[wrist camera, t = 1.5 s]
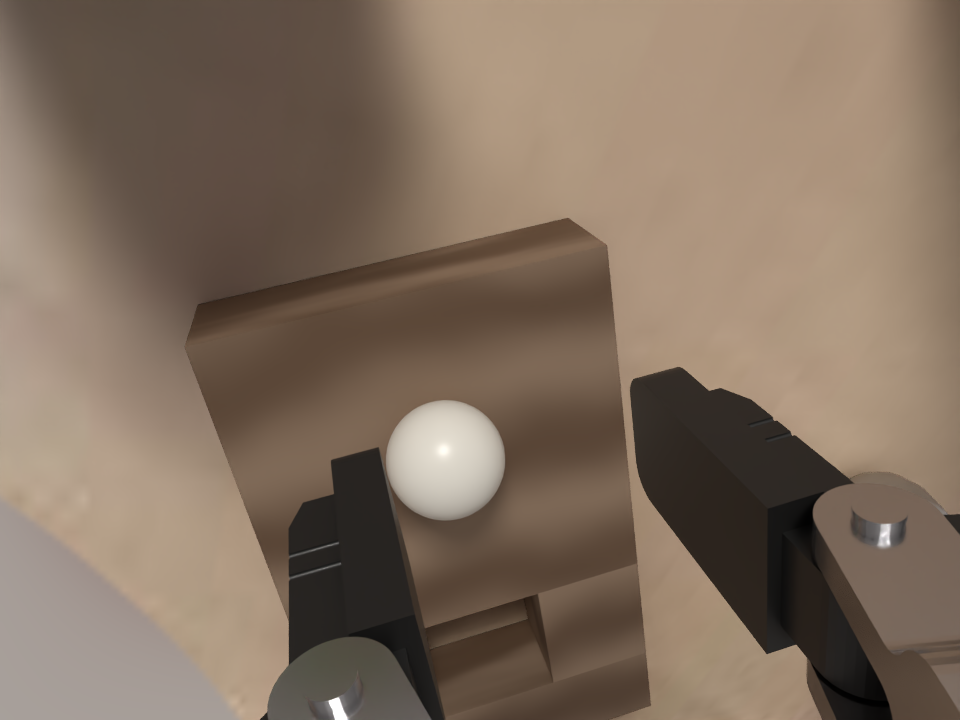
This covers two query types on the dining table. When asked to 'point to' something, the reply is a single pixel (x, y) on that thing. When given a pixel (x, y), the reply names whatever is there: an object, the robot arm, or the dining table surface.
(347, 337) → the hole board
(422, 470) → the ball
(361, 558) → the robot arm
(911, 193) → the dining table surface
